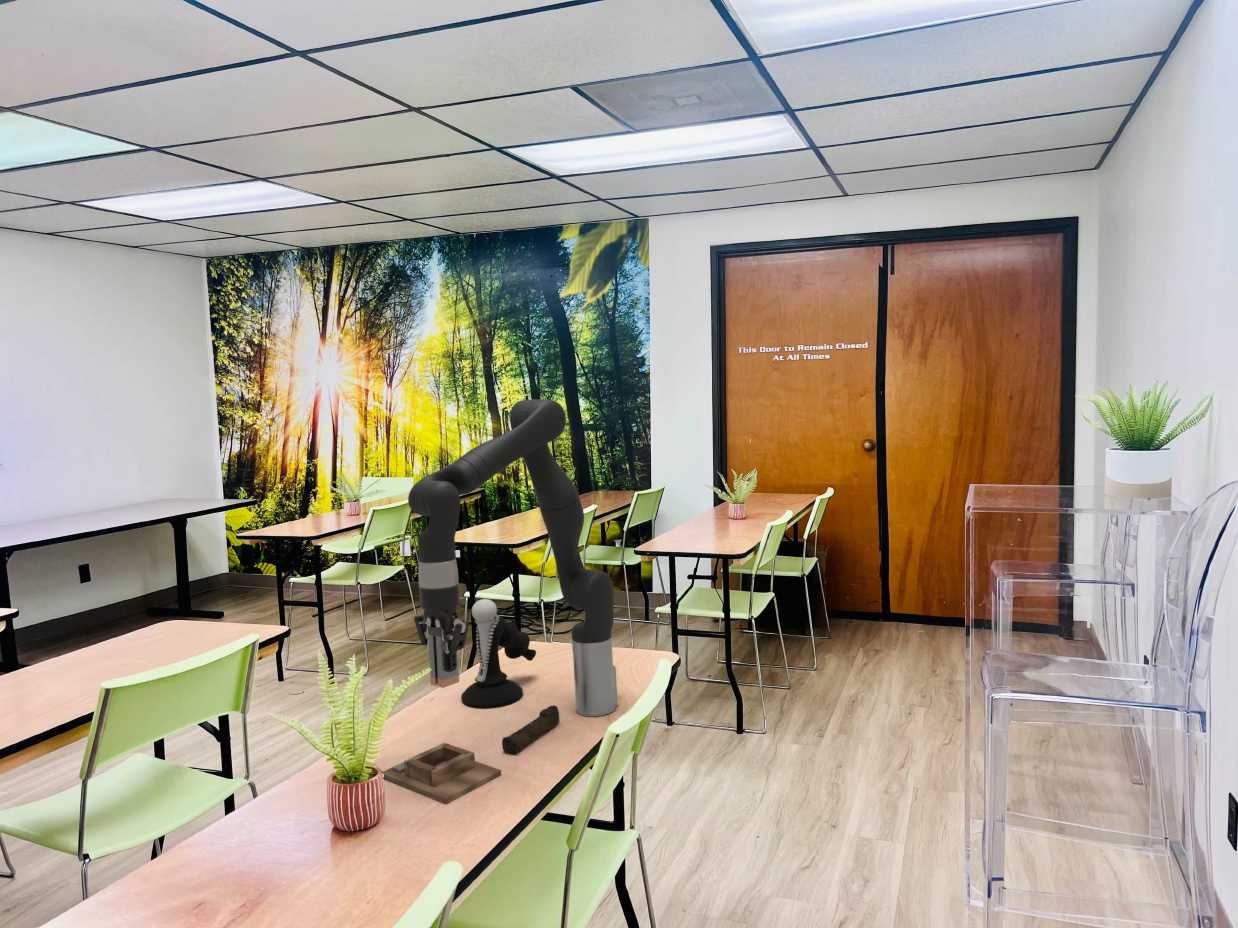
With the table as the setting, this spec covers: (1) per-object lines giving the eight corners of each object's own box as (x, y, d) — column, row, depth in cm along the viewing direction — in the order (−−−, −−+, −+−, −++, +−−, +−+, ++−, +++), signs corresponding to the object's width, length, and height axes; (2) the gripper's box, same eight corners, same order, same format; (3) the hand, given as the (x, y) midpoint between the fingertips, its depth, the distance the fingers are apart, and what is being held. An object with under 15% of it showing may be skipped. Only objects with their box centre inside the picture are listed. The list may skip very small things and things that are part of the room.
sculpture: (448, 702, 210) (441, 603, 207) (511, 672, 229) (505, 581, 227) (495, 712, 201) (488, 609, 199) (556, 681, 221) (550, 586, 219)
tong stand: (436, 751, 181) (434, 733, 181) (501, 774, 168) (499, 755, 168) (380, 777, 170) (379, 758, 170) (445, 803, 158) (444, 783, 157)
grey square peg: (446, 678, 170) (443, 615, 169) (459, 681, 168) (455, 617, 167) (430, 684, 167) (427, 620, 166) (443, 687, 164) (439, 622, 163)
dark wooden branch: (516, 757, 177) (515, 735, 176) (501, 753, 179) (500, 732, 178) (569, 724, 193) (568, 704, 192) (554, 721, 195) (553, 701, 194)
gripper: (478, 582, 164) (482, 669, 165) (430, 575, 173) (434, 658, 174) (448, 590, 158) (453, 680, 160) (400, 582, 167) (405, 668, 168)
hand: (443, 668), depth 167 cm, fingers closed on grey square peg, 3 cm apart
